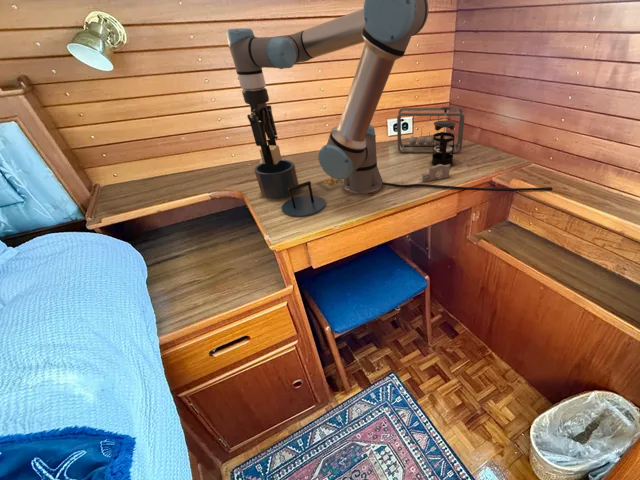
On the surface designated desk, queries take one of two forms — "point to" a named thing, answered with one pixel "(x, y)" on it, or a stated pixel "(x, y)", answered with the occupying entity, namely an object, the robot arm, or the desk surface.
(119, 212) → the desk surface
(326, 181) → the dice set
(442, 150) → the french press
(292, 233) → the desk surface
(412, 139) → the newton's cradle
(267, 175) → the pot
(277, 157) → the block
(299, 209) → the lid
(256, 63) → the robot arm
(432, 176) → the garden wall model
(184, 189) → the desk surface
